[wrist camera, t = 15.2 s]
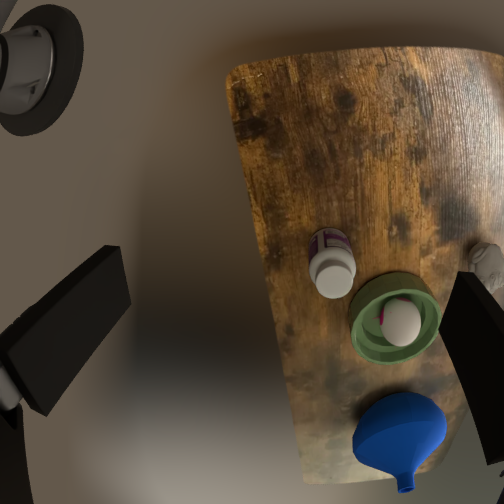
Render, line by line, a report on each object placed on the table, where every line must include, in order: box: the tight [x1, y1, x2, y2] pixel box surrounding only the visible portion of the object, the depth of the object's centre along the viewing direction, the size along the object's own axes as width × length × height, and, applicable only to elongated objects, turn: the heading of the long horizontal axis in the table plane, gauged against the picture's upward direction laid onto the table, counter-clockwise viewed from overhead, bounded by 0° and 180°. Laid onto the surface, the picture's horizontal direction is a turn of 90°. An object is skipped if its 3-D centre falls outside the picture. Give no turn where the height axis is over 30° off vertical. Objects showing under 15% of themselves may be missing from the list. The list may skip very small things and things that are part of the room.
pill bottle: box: [309, 228, 356, 299], centre depth 36 cm, size 5×5×10 cm
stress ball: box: [373, 297, 421, 349], centre depth 41 cm, size 8×8×7 cm
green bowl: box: [348, 272, 442, 365], centre depth 41 cm, size 13×13×5 cm
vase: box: [352, 392, 447, 493], centre depth 43 cm, size 18×18×19 cm
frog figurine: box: [468, 242, 504, 294], centre depth 34 cm, size 6×7×7 cm
